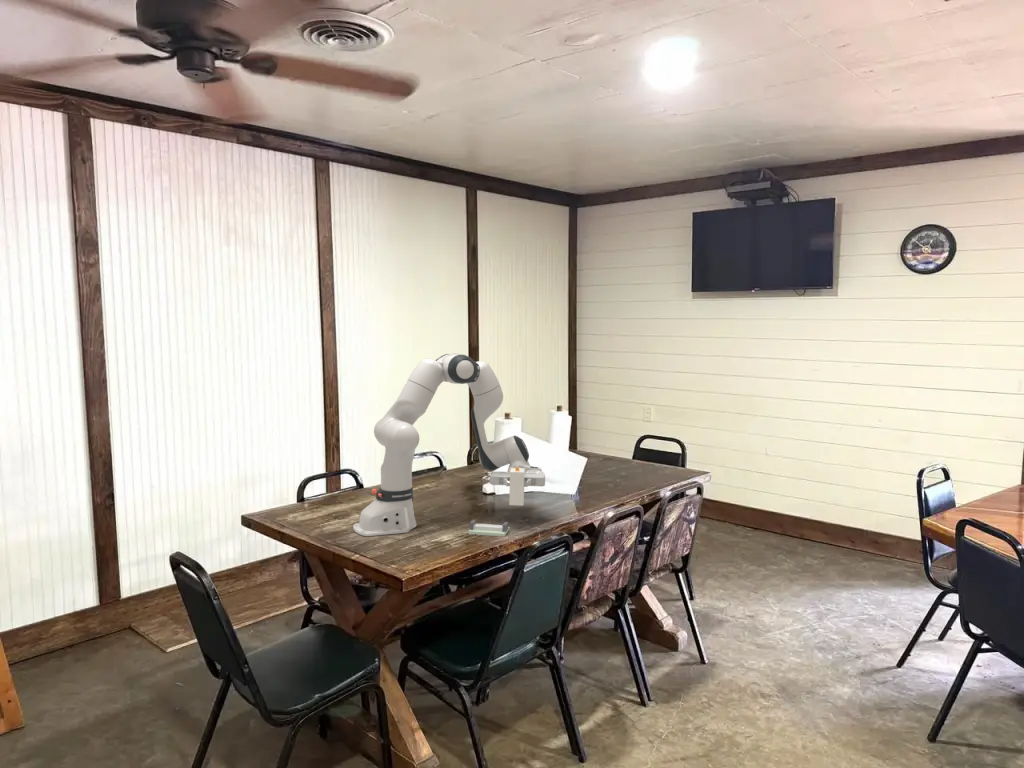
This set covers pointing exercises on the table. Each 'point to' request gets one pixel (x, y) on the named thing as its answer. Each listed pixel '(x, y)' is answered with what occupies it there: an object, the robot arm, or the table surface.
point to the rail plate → (488, 529)
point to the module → (516, 486)
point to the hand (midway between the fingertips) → (516, 484)
